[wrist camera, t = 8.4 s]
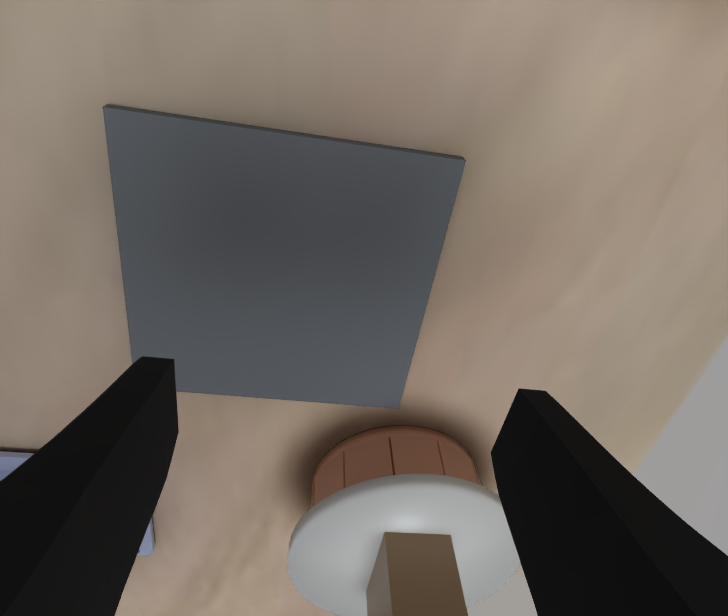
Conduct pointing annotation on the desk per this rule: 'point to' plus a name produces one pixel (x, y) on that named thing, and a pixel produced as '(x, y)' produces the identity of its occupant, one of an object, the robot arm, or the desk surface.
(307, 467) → the desk surface
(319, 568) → the lid
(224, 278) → the mat
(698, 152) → the desk surface
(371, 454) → the bowl
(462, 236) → the desk surface
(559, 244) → the desk surface
